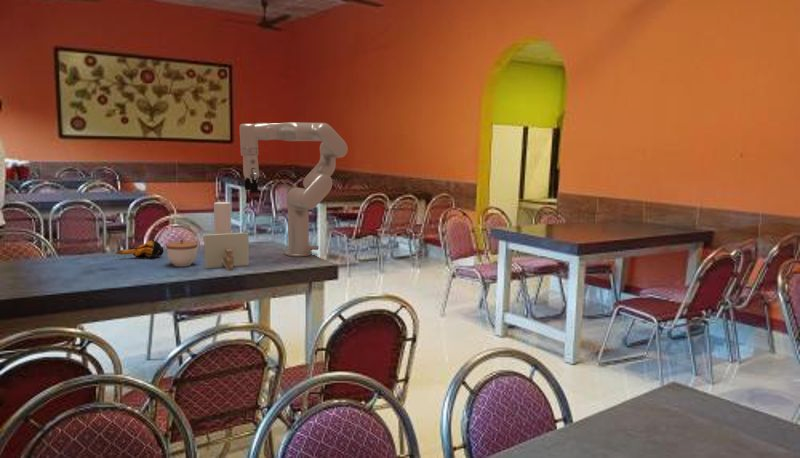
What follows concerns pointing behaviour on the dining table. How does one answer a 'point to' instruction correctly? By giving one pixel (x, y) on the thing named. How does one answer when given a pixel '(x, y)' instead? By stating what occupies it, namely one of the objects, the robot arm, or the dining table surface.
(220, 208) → the cylindrical container
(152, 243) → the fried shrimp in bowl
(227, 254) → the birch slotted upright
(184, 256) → the lidded bowl
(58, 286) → the dining table surface
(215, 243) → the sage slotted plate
